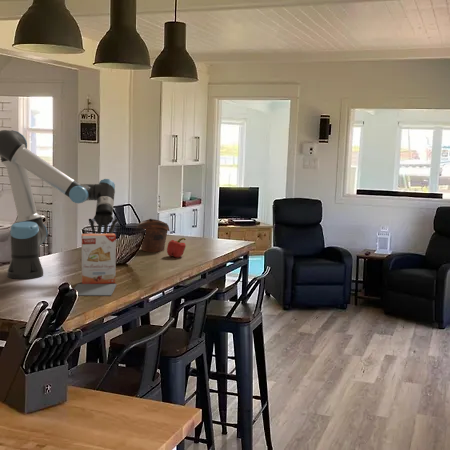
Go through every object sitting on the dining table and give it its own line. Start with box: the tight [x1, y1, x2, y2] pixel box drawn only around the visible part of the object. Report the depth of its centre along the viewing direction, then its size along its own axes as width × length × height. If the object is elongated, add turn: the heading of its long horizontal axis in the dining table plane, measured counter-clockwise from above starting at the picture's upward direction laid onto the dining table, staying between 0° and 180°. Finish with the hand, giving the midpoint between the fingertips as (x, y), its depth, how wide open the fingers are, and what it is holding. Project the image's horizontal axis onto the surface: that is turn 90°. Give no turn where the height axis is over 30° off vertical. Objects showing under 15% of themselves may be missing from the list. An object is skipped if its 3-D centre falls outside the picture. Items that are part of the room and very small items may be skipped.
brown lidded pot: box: [136, 218, 170, 253], centre depth 355 cm, size 18×20×18 cm
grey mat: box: [73, 283, 118, 297], centre depth 253 cm, size 16×20×1 cm
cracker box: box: [81, 233, 117, 284], centre depth 265 cm, size 14×6×21 cm, turn 105°
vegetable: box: [166, 237, 187, 259], centre depth 334 cm, size 11×10×10 cm
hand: (100, 250), depth 269 cm, fingers closed
